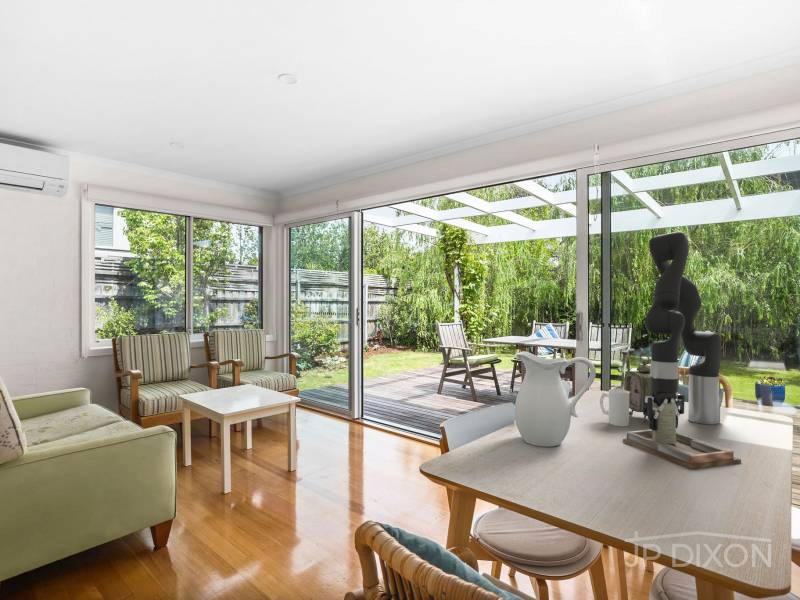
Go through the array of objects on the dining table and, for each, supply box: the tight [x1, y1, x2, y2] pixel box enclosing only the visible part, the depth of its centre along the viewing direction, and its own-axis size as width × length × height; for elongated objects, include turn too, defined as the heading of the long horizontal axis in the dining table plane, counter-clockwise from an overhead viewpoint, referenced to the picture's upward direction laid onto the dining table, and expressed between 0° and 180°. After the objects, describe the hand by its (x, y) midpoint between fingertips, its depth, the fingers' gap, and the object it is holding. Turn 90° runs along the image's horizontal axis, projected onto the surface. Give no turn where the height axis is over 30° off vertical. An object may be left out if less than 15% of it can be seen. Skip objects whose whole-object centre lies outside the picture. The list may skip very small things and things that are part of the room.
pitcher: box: [514, 351, 597, 448], centre depth 142 cm, size 24×17×28 cm
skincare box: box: [652, 403, 677, 444], centre depth 140 cm, size 6×4×12 cm
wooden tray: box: [622, 429, 742, 470], centre depth 135 cm, size 18×24×3 cm
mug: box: [599, 388, 630, 427], centre depth 165 cm, size 10×7×12 cm, turn 46°
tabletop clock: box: [623, 352, 652, 424], centre depth 170 cm, size 14×9×25 cm, turn 178°
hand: (663, 428), depth 140 cm, fingers closed on skincare box, 7 cm apart
